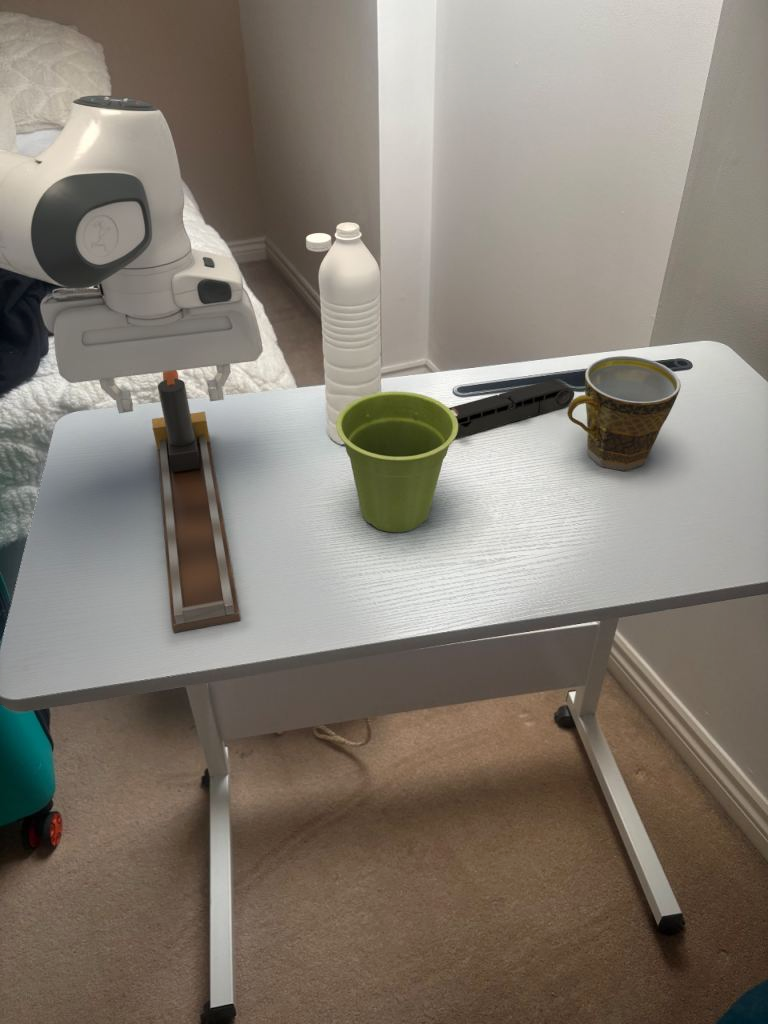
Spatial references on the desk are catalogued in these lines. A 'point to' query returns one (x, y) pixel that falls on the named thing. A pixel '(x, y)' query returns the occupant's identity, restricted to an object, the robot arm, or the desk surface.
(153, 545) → the desk surface
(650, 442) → the ceramic cup
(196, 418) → the block
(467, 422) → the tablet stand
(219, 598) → the rail
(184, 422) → the nozzle
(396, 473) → the plant pot
